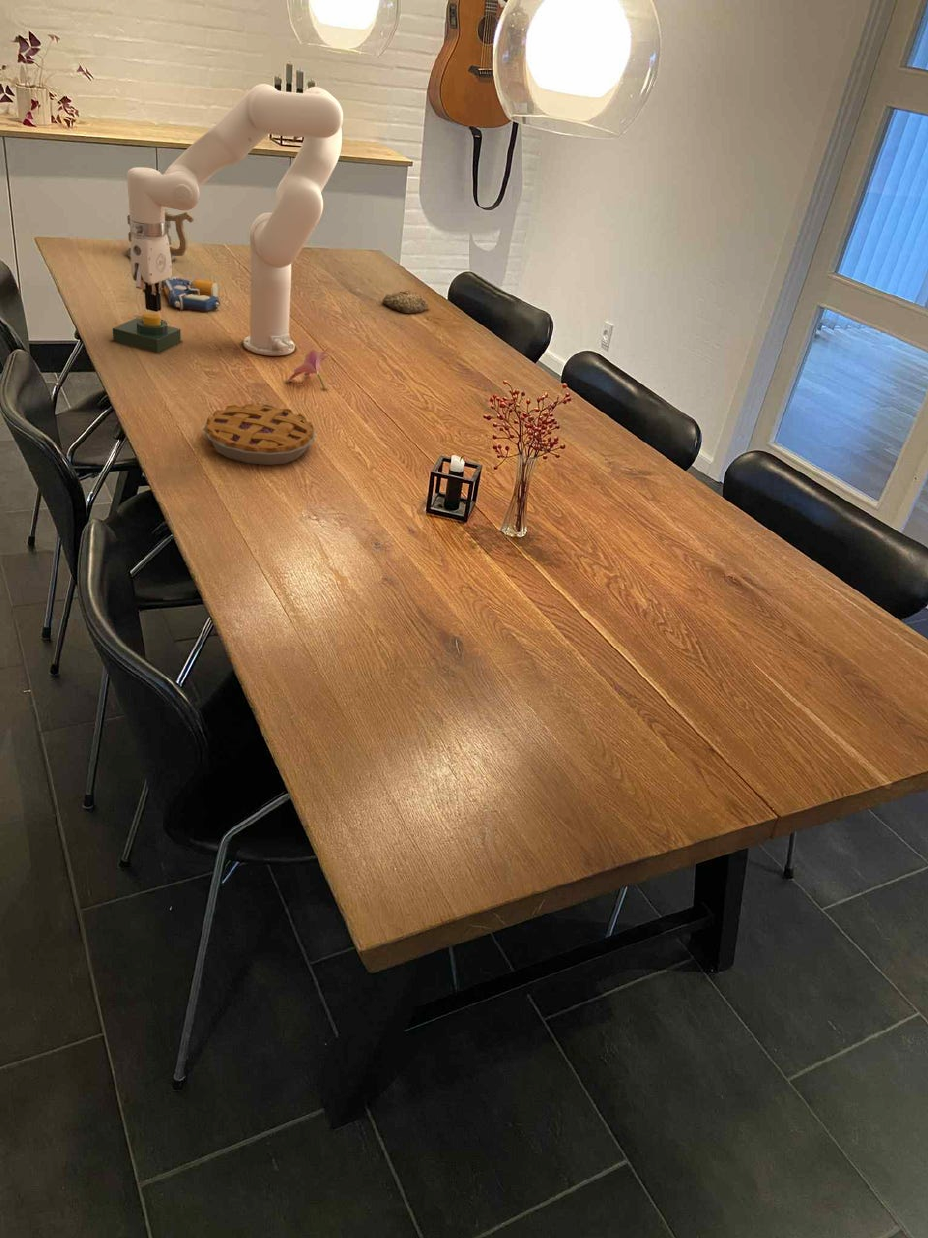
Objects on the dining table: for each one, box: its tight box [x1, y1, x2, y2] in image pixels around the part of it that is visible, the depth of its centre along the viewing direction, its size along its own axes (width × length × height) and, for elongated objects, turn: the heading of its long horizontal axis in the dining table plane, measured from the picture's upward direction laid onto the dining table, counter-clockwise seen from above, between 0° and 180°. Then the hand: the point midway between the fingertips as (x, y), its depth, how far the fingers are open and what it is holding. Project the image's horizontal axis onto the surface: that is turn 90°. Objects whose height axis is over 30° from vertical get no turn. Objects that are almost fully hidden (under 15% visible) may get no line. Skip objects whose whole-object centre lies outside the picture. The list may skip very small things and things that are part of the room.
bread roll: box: [382, 290, 429, 314], centre depth 276 cm, size 13×12×5 cm
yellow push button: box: [142, 312, 162, 326], centre depth 221 cm, size 4×4×2 cm
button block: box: [112, 317, 182, 354], centre depth 223 cm, size 12×10×5 cm
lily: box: [286, 346, 332, 390], centre depth 215 cm, size 12×12×10 cm
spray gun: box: [162, 275, 221, 312], centre depth 253 cm, size 21×4×15 cm
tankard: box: [126, 208, 195, 262], centre depth 276 cm, size 20×13×15 cm, turn 81°
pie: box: [203, 403, 316, 466], centre depth 186 cm, size 22×22×5 cm
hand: (153, 309), depth 220 cm, fingers closed
